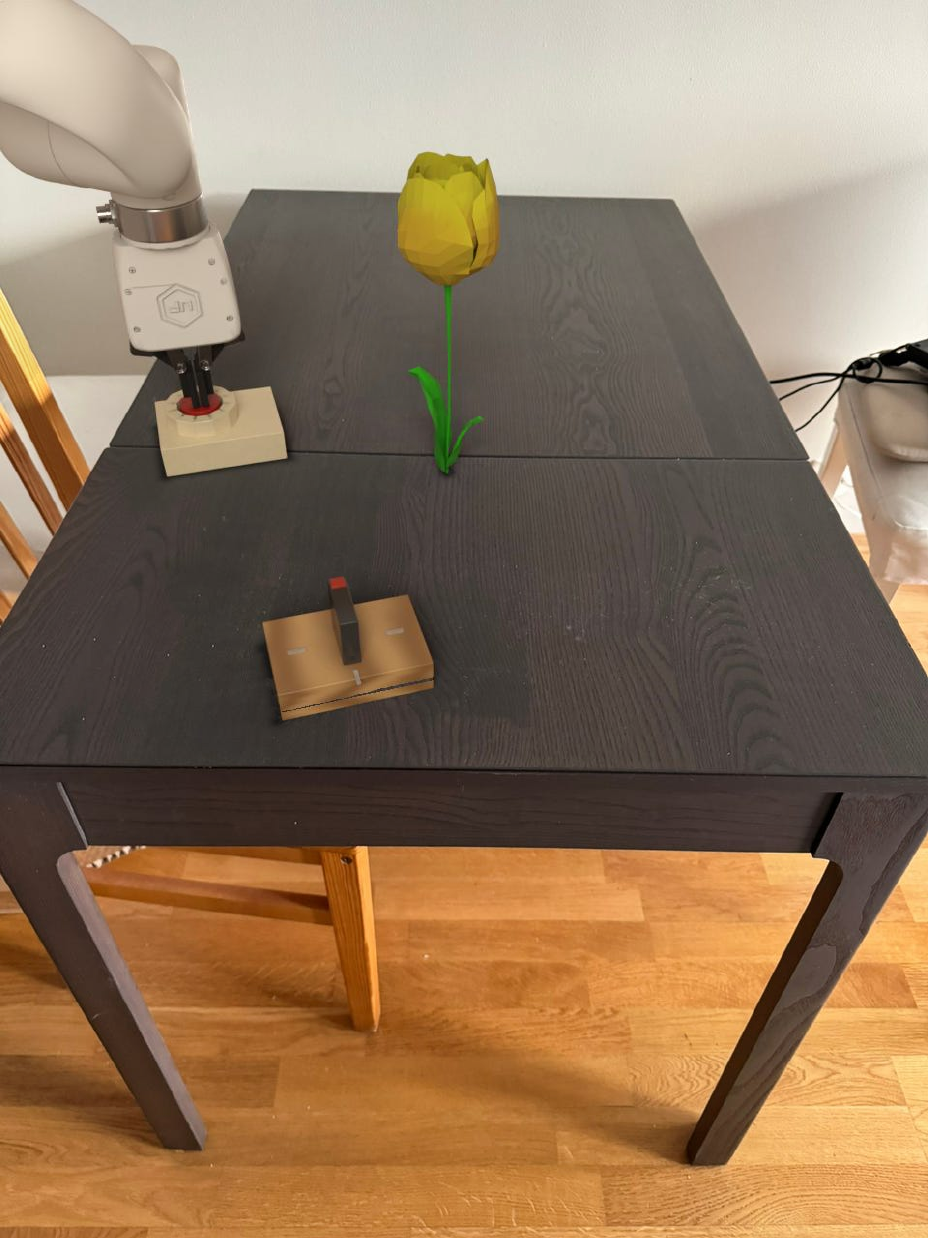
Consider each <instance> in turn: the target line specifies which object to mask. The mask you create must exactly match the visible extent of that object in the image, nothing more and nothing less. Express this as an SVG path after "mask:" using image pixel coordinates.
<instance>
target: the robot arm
mask: <svg viewBox="0 0 928 1238" xmlns="http://www.w3.org/2000/svg"><path fill="white" fill-rule="evenodd" d="M195 142H196V141H195V137H194V131H193V125H192V119H191V114H190V108H189V102H188V97H187V91H186V84H185V80H184V75H183V71H182V68H181V66H180V64H179V61H178V59H176V58H175V56H174V54H172V53H171V52H169V51H168V50H166V49H163V48H161V47H158V46H153V45H147V44H132V43H131V42H130V41H129V40H128V39H127V38H125V36H124V35H122V34H121V33H119V31H117V30H116V29H115V28H113V26H111V25H110V24H108V22H106V21H104V20H103V19H102V18H100V17H99V16H97V15H96V14H94V13H93V12H91V11H90V10H88V9H87V8H86V7H84V6H82V5H81V4H79V3H78V2H76V1H75V0H0V152H1V154H2V155H3V157H4V158H5V159H6V160H7V161H8V162H9V163H10V164H11V165H12V166H13V167H15V168H16V169H17V170H19V171H20V172H22V173H24V174H26V175H28V176H30V177H33V178H34V179H37V180H41V181H45V182H49V183H53V184H59V185H64V186H70V187H76V188H80V189H91V190H97V191H103V192H108V193H109V194H110V197H111V199H108V203H104V205H98V206H97V205H96V206H95V211H96V215H97V219H98V222H99V224H106V223H108V224H109V225H114V228H116V229H115V230H114V232H113V234H112V259H113V267H114V274H115V281H116V286H117V291H118V296H119V301H120V306H121V311H122V316H123V320H124V324H125V328H126V332H127V335H128V341H129V342H128V345H129V352H130V354H131V355H133V356H136V357H145V358H146V357H148V358H152V357H155V358H157V359H158V360H160V361H161V362H163V363H165V364H166V365H168V366H169V367H171V368H172V369H173V371H174V372H175V373H177V374H178V378H179V382H180V388H181V390H182V392H183V397H184V398H188V397H191V400H192V404H193V409H198V408H199V407H200V402H199V396H198V391H197V386H198V389H199V393H200V398H201V403H202V406H204V407H210V406H209V401H208V396H207V395H209V394H214V389H213V386H214V384H213V380H212V379H213V378H212V374H211V369H212V367H213V363H214V362H215V360H216V359H217V358H218V357H219V355H220V354H221V353H222V352H223V351H224V349H225V348H230V347H233V346H236V345H239V344H242V343H243V342H245V340H246V334H245V330H244V327H243V326H242V323H241V316H240V310H239V303H238V297H237V293H236V288H235V283H234V279H233V274H232V270H231V266H230V262H229V258H228V254H227V251H226V247H225V245H224V241H223V239H222V238H223V237H222V236H221V233H220V230H219V228H218V227H217V225H216V223H215V222H214V221H213V220H212V219H209V218H208V211H207V207H206V202H205V196H204V190H203V183H202V177H201V171H200V167H199V160H198V154H197V150H196V143H195ZM189 348H195V349H196V352H195V354H193V357H194V359H192V360H191V359H190V358H189V356H188V355H187V354H185V351H184V349H189Z"/></svg>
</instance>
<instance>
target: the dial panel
mask: <svg viewBox="0 0 928 1238" xmlns="http://www.w3.org/2000/svg"><path fill="white" fill-rule="evenodd" d="M353 605H354V609H355V612H356V615H357V619H358V624H359V637H360V649H361V662H360V663H355V664H350V665H343V661H342V657H341V654H340V650H339V646H338V643H337V639H336V635H335V632H334V628H333V624H332V619H331V610H330V609H325V610H319V611H315V612H309V613H303V614H299V615H293V616H288V617H283V618H282V617H281V618H278V619H271V620H267V621H262V623H261V624H262V629H263V634H264V641H265V646H266V650H267V654H268V659H269V664H270V669H271V675H272V679H273V683H274V687H275V693H276V697H277V701H278V707H279V711H280V716H281V720H282V721H287V720H293V719H297V718H301V717H306V716H311V715H315V714H319V713H326V712H328V711H329V712H330V711H334V710H339V709H343V708H348V707H352V706H357V705H362V704H367V703H371V702H375V701H381V700H385V699H390V698H394V697H399V696H404V695H408V694H412V693H417V692H421V691H426V690H427V691H428V690H432V689H434V687H435V686H434V685H435V681H434V680H435V679H434V680H432V681H427V682H423V683H418V684H413V685H409V686H404V687H399V688H394V689H390V690H385V691H380V692H376V693H371V694H366V695H362V696H357V697H352V698H348V699H344V698H347V697H351V696H354V695H357V694H363V693H368V692H371V691H374V690H377V689H380V688H387V687H390V686H396V685H399V684H405V683H408V682H414V681H420V680H423V679H429V678H433V677H435V676H434V675H435V674H434V673H435V670H434V669H435V666H434V665H435V663H434V660H433V657H432V655H431V652H430V649H429V647H428V645H427V641H426V638H425V636H424V633H423V631H422V629H421V625H420V623H419V620H418V617H417V615H416V613H415V609H414V608H413V607H414V606H413V605H412V602H411V600H410V597H409V594H402V595H398V596H392V597H387V598H381V599H377V600H371V601H368V602H362V603H356V604H353ZM276 691H277V692H276ZM336 699H343V700H338V701H334V702H329V701H332V700H336ZM325 702H329V703H325ZM320 703H324V704H320ZM313 704H320V705H315V706H310V707H306V708H301V707H305V706H309V705H313ZM279 705H280V706H279ZM296 708H301V709H296ZM293 709H296V710H293ZM286 710H292V711H287V712H282V711H286Z"/></svg>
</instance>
